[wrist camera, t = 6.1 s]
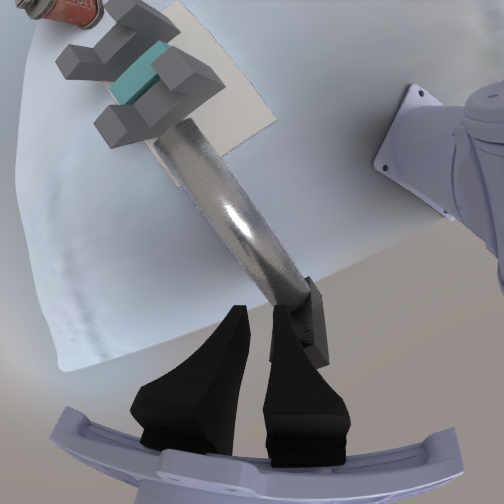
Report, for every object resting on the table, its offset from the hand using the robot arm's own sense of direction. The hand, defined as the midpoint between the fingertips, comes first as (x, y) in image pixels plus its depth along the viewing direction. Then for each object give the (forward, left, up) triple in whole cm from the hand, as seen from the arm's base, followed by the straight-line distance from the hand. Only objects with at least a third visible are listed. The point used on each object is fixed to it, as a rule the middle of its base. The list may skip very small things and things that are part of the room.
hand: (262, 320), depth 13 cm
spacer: (+12, -9, -9) cm, 17 cm away
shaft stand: (+12, -9, -10) cm, 18 cm away
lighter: (+26, -16, -10) cm, 32 cm away
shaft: (+2, -3, -5) cm, 6 cm away
